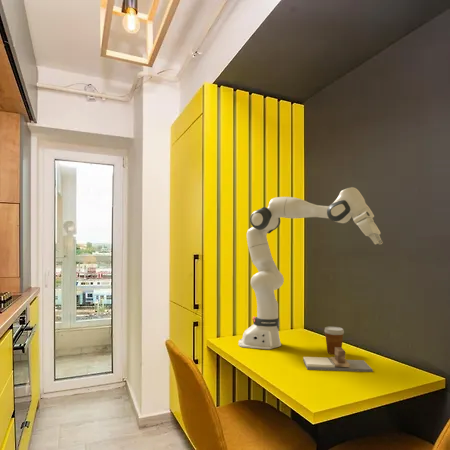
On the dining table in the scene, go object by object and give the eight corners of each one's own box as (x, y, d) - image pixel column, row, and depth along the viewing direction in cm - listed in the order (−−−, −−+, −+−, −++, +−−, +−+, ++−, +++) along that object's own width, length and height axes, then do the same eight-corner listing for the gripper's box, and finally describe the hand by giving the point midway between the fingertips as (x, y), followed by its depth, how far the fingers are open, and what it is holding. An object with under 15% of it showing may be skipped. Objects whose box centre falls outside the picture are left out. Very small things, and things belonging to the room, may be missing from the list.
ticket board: (307, 369, 151) (307, 364, 151) (303, 360, 163) (303, 355, 163) (372, 371, 149) (372, 366, 149) (363, 362, 161) (363, 357, 161)
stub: (335, 366, 151) (335, 352, 151) (330, 359, 161) (330, 345, 161) (350, 367, 150) (349, 352, 151) (343, 359, 160) (343, 346, 161)
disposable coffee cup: (322, 354, 172) (322, 329, 173) (326, 349, 181) (326, 325, 181) (342, 357, 168) (342, 331, 169) (345, 352, 176) (345, 327, 177)
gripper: (362, 222, 176) (377, 247, 172) (352, 219, 159) (367, 247, 155) (374, 215, 173) (389, 240, 169) (365, 212, 156) (381, 240, 152)
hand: (379, 243), depth 161 cm, fingers open, 8 cm apart
